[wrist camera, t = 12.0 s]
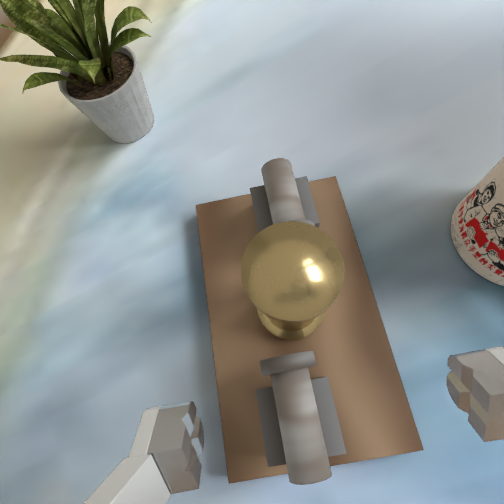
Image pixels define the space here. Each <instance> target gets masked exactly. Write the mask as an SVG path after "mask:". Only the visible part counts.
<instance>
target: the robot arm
mask: <svg viewBox="0 0 504 504" xmlns="http://www.w3.org/2000/svg"><path fill="white" fill-rule="evenodd" d="M448 366H449V368H450V369H451V372H450V373H449V374H448V375H447V387H448V391H449V394H450V396H451V398H452V399H453V401H454V403H455V404H456V405H457V407H458V408H459V409H461V410H463V411H465V412H467V413H468V414H469V416H468V421H469V423H470V424H471V425H472V427H473V428H474V429H475V431H476V432H477V433H478V435H479V436H480V437H481V439H482V440H483V441H484V442H487V441H494V440H502V439H504V347H501V346H499V347H493V348H488V349H483V350H476V351H471V352H466V353H460V354H455V355H450V357H449V358H448ZM195 415H196V407H195V405H194V402H192V401H190V402H183V403H176V404H170V405H163V406H158V407H151V408H146V410H145V411H144V412H143V414H142V417H141V420H140V424H139V427H138V430H137V433H136V436H135V439H134V442H133V445H132V448H131V451H130V454H129V457H128V458H125V459H123V460H122V461H121V462H120V463H119V464H118V466H117V467H116V468H115V469H114V470H113V471H112V472H111V473H110V475H109V476H108V477H107V478H106V479H105V480H104V481H103V482H102V483H101V485H100V486H99V487H98V488H97V489H96V490H95V491H94V492H93V493H92V495H91V496H90V497H89V498H88V499H87V500H86V501H85V502H84V503H83V504H167V502H168V500H169V499H170V497H171V494H174V493H179V492H184V491H189V490H194V489H199V482H200V473H201V463H200V461H199V458H198V457H199V456H200V454H201V453H202V452H203V444H204V436H203V427H202V423H201V420H200V419H199V418H198V417H196V416H195Z"/></svg>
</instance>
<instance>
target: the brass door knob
mask: <svg viewBox="0 0 504 504" xmlns="http://www.w3.org/2000/svg"><path fill="white" fill-rule="evenodd" d="M344 276H345V266H344V260H343V257H342V254H341V251H340V249H339V248H338V246H337V244H336V243H335V241H334V240H333V239H332V238H331V237H330V236H329V235H328V234H327V233H325V232H324V231H323V230H321V229H320V228H318V227H316V226H313V225H311V224H308V223H304V222H297V221H287V222H281V223H277V224H274V225H271V226H269V227H267V228H265V229H263V230H262V231H261V232H259V233H258V234H257V235H256V236H255V237H254V238H253V239H252V240H251V241H250V243H249V244H248V246H247V247H246V249H245V252H244V254H243V257H242V261H241V279H242V283H243V286H244V289H245V291H246V293H247V295H248V297H249V298H250V300H251V302H252V303H253V304H254V306H255V307H256V308H257V311H258V315H259V318H260V320H261V322H262V323H263V325H264V326H265V328H266V329H267V330H268V331H269V332H270V333H271V334H273V335H274V336H276V337H278V338H281V339H284V340H300V339H303V338H306V337H308V336H309V335H311V334H312V333H314V332H315V331H316V330H317V328H318V327H319V326H320V324H321V322H322V320H323V318H324V316H325V312H326V310H327V309H328V308H329V307H330V306H331V305H332V304H333V302H334V301H335V299H336V298H337V296H338V294H339V292H340V290H341V288H342V285H343V282H344Z"/></svg>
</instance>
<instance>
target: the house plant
mask: <svg viewBox="0 0 504 504" xmlns="http://www.w3.org/2000/svg"><path fill="white" fill-rule="evenodd" d="M48 1H49V2H50V4H51V5H52V6H53V8H54V9H55V10H56V12H57V13H58V14H59V15H60V16H61V17H60V16H59V15H58V14H57V13H55V12H54V11H52V10H50V9H44V7H43V6H42V4H41V3H40V2H39V1H38V0H0V5H1V7H2V9H3V11H4V12H5V14H6V15H7V16H8V17H9V18H10V20H11V21H12V22H13V23H14V24H15V25H16V26H17V27H15V28H12V27H9V26H6V25H3V24H0V27H4V28H7V29H11V30H14V31H17V32H20V33H23V34H26V35H28V36H29V37H31V38H32V39H33V40H35V41H36V42H37V43H39V44H40V45H41V46H43V47H45V48H46V49H48V50H50V51H52V52H53V53H54V55H55V56H56V57H55V56H43V55H11V56H7V57H3V58H0V60H2V61H6V62H20V63H23V64H27V65H31V66H38V67H50V68H56V69H59V70H61V72H60V74H57V73H48V72H40V73H34V74H33V75H31V76H30V77H29V78H28V79H27V80H26V82H25V85H24V88H23V92H24V90H26V89H30V88H33V87H37V86H40V85H43V84H46V83H50V82H55V81H58V84H59V87H60V91H61V92H62V93H63V95H64V96H65V97H66V98H67V99H68V100H69V101H70V102H72V103H73V104H74V105H75V106H76V107H77V108H78V109H79V110H80V111H81V112H82V113H83V114H85V115H86V116H87V117H88V118H89V119H90V120H91V121H92V122H93V123H94V124H95V125H96V126H98V127H99V128H100V129H101V130H102V131H103V132H104V133H105V134H106V135H107V136H108V137H110V138H111V139H112V140H114V141H115V142H118V143H131V142H135V141H137V140H139V139H140V138H142V137H143V136H145V135H146V134H147V133H148V132H149V131H150V130H151V128H152V126H153V123H154V115H153V112H152V108H151V105H150V102H149V99H148V95H147V92H146V89H145V85H144V82H143V79H142V76H141V72H140V69H139V66H138V62H137V59H136V57H135V55H134V53H133V52H132V51H131V50H130V49H129V48H128V47H126V46H124V45H126V44H128V43H130V42H132V41H133V40H135V39H137V38H139V37H143V36H149V35H147V34H146V33H144V32H143V31H141V30H139V29H136V28H130V29H126V30H124V31H122V32H121V33H120V34H119V35H118V36H117V37H116V34H117V32H118V31H119V30H120V29H121V28H122V27H124V26H126V25H127V24H129V23H132V22H134V21H136V20H139V19H142V18H143V19H148V17H147V16H146V15H145V14H144V13H143V12H142V11H141V9H139V8H136V7H127V8H125V9H124V10H123V11H122V12H121V13H120V14H119V15H118V17H117V18H116V19H115V22H114V25H113V28H112V31H111V42H108V37H107V31H106V26H105V17H104V0H73V4H74V7H75V9H74V8H73V6H72V4H71V3H70V1H69V0H48ZM94 14H95V18H96V27H95V18H94ZM148 20H149V19H148ZM149 21H150V20H149ZM150 22H151V21H150ZM151 23H152V22H151ZM98 36H99V38H98ZM115 37H116V38H115ZM149 37H151V36H149ZM99 41H100V43H99ZM59 45H60V46H59ZM62 47H63V48H64V49H63V48H62ZM66 50H67V51H68V52H67V51H66ZM70 53H71V54H72V55H73V56H72V55H71V54H70ZM22 94H23V93H22Z"/></svg>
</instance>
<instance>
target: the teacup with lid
mask: <svg viewBox="0 0 504 504" xmlns="http://www.w3.org/2000/svg"><path fill="white" fill-rule="evenodd" d="M451 236H452V240H453V243H454V246H455V248H456V250H457V252H458V253H459V255H460V256H461V258H462V259H463V260H464V261H465V263H466V264H467V265H468V266H469V267H470V268H471V269H473V270H474V271H475V272H476V273H478V274H479V275H481V276H482V277H484V278H486V279H487V280H489V281H491V282H493V283H496V284H499V285H501V286H504V158H503V159H502V160H501V161H500V162H499V163H498V164H497V165H496V166H495V167H494V168H493V169H492V170H491V171H490V172H489V173H488V174H487V175H486V176H485V177H484V178H483V179H482V180H481V181H480V182H479V183H478V184H477V185H476V186H475V187H474V188H473V189H472V190H471V191H470V192H469V193H468V194H467V195H466V196H465V198H464V199H463V200H462V201H461V202H460V203H459V204H458V206H457V207H456V209H455V211H454V213H453V216H452V220H451Z"/></svg>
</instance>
